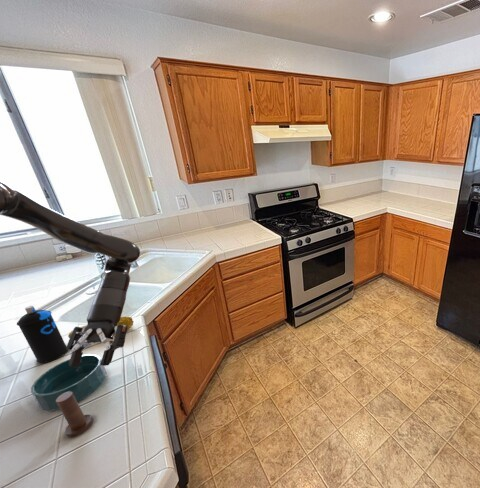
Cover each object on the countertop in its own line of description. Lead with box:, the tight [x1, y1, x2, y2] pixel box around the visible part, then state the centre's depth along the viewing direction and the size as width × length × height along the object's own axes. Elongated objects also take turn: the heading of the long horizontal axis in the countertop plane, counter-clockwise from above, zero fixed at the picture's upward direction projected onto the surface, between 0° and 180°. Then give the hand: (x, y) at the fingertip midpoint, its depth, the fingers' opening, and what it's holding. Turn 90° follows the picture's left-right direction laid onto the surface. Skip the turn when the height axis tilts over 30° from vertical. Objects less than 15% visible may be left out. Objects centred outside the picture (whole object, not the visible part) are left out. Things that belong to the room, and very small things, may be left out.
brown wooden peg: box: [56, 391, 94, 439], centre depth 65 cm, size 5×5×11 cm
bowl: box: [30, 353, 108, 411], centre depth 78 cm, size 15×15×6 cm
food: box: [67, 316, 134, 339], centre depth 102 cm, size 21×6×6 cm, turn 109°
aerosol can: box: [16, 305, 69, 364], centre depth 90 cm, size 8×8×20 cm
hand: (89, 366), depth 70 cm, fingers open, 8 cm apart
